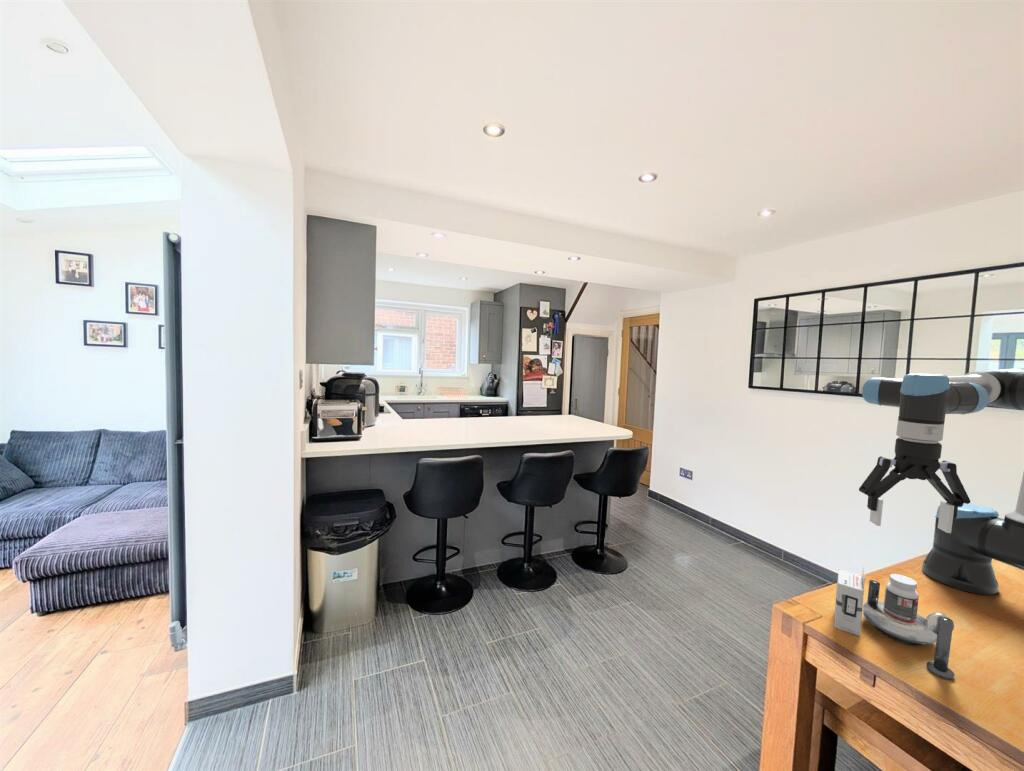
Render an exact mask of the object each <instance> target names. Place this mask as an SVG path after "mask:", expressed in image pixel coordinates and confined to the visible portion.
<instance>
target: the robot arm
mask: <svg viewBox="0 0 1024 771" xmlns="http://www.w3.org/2000/svg"><path fill="white" fill-rule="evenodd" d="M861 389H862V390H861V391H862V392H861V396H862V398H863V400H864V401H865V402H866V403H868V404H872V405H878V406H886V407H895V408H899V410H898V418H897V425H896V433H895V434H896V436H898V437H897V438H896V439H895V444H894V455H895V456H894V458H893V459H892V458H887V457H884V456H882V455H881V456H878V458H877V461H876V465H875V466H874V468H873V469H872V470H871V471H870V473H869V474H868V476H866V478H865V479H864V481H863V482H862V484H861V485H860V486H859V488H858V491H859V492H861V493H862V494H864V495H865V496H867V504H866V507H867V509H869V510H870V512H869V522H871V524H873V525H875V526H876V527H877V526H878V527H881V525H882V518H883V517H882V516H883V506H884V505H883V504H884V499H882V498H881V497H882V496H883V495H885V494H886V493H887V492H889V490H892V488H894V486H896V485H897V484H899V482H901V481H904V480H906V479H908V480H921V481H927V482H928V483H929V484H930V485H931V486H932V487H933V488H934V489H935V490H936V492H937V493H938V494H939V495H940V497H941V498H943V500H945V501H940V504H939V505H938V507H937V510H936V514H935V516H934V517H935V522H934V523H935V524H934V532H933V533H934V534H933V543H932V547H931V550H930V551H929V552H928V554H927V556H925V558H924V559H923V561H922V566H921V570H922V572H923V573H924V574H925V575H926V576H928V577H929V578H931V579H933V580H934V581H936V582H939V583H941V584H944V585H946V586H949V587H951V588H954V589H956V590H961V591H963V592H967V593H972V594H977V595H983V596H985V595H986V596H990V595H991V596H992V595H996V594H998V591H999V582H998V581H997V578H996V574H995V571H994V567H993V563H992V561H993V560H994V561H996V562H997V561H998V562H1001V563H1002V564H1006V565H1008V566H1011V567H1012V568H1013V567H1014V568H1017V569H1018V570H1022V571H1024V471H1023V472H1022V477H1021V482H1020V486H1019V491H1018V492H1019V493H1018V497H1017V501H1016V505H1015V510H1014V511H1012V512H1009V513H1005V514H1004V518H1000V517H999V516H1000V514H999V512H998V511H997V510H996V509H993V508H990V507H987V506H981V505H976V504H970V503H971V499H970V497H969V495H968V493H967V491H966V489H965V486H964V485H963V483H962V481H961V479H960V477H959V475H958V471H957V470H958V469H957V464H956V463H953V462H950V461H949V460H942V461H939V460H940V459H941V457H942V449H943V444H941V441H943V437H944V430H945V422H946V415H969V414H974V413H978V412H981V411H983V410H984V409H985V408H986V407H987V406H989V407H996V408H1003V409H1008V410H1009V409H1010V410H1017V411H1024V368H1021V367H1020V368H1018V367H1017V368H1015V367H1014V368H1004V369H993V370H992V369H991V370H982V371H970V372H967V373H965V374H963V375H952V376H951V375H948V376H947V375H946V374H934V373H908V374H905V375H904V376H902V377H901V378H900V377H899V378H898V377H895V378H892V377H891V378H890V377H889V378H888V377H871V378H868V379H867V380H866V381H865V382H864V383H863V385H862V388H861ZM893 466H894V468H893ZM890 468H893V469H892V470H890ZM889 470H890V471H889ZM938 470H940V471H941V473H942V475H943V477H944V479H945V481H946V483H947V485H948V486H949V488H948V487H947V485H946V484H945V483H944V482H943V481H942V479H941V478H940V476H939V475H938V474H937V473H936V472H937V471H938ZM888 472H889V473H888ZM887 473H888V475H886V474H887Z"/></svg>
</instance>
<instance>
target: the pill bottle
mask: <svg viewBox="0 0 1024 771" xmlns="http://www.w3.org/2000/svg"><path fill="white" fill-rule="evenodd" d="M917 588H918V583H917V581H916V580H914V579H913V578H910V577H908V576H905V575H902V574H900V573H899V574H898V573H891V574H890V575H889V582H888V583H886V584H885V589H884V590H885V591H884V592H885V593H884V601H883V602H884V609H883V611H884V613H885V615H886V616H887V617H889V618H890V619H892V620H894V621H896V622H899V623H902V624H906V625H913V624H915V623H916V618H917V614H918V608H919V607H918V606H919V599H920V598H919V596H920V595H919V593H918V591H917Z"/></svg>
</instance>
